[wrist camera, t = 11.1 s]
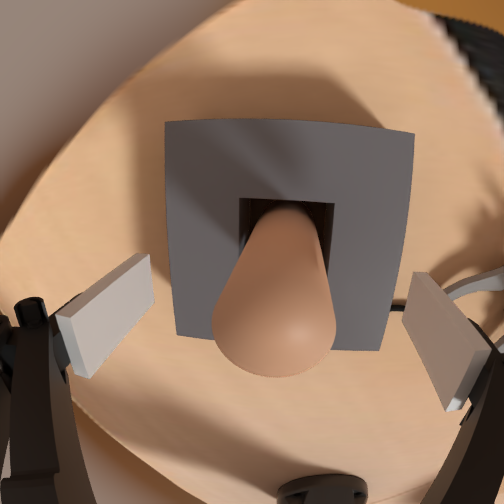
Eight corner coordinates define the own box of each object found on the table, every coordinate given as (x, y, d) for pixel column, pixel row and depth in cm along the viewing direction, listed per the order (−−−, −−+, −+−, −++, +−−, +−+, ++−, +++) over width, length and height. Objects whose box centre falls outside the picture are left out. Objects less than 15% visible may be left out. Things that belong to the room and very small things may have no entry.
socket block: (367, 318, 26) (379, 350, 22) (194, 305, 28) (176, 335, 24) (391, 135, 21) (414, 133, 16) (189, 125, 23) (164, 121, 18)
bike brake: (535, 221, 20) (367, 297, 28) (571, 248, 14) (371, 342, 22) (539, 322, 23) (400, 383, 31) (562, 357, 17) (404, 427, 25)
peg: (312, 252, 25) (326, 380, 11) (258, 249, 26) (214, 371, 12) (316, 199, 24) (344, 277, 9) (260, 196, 24) (208, 269, 10)
